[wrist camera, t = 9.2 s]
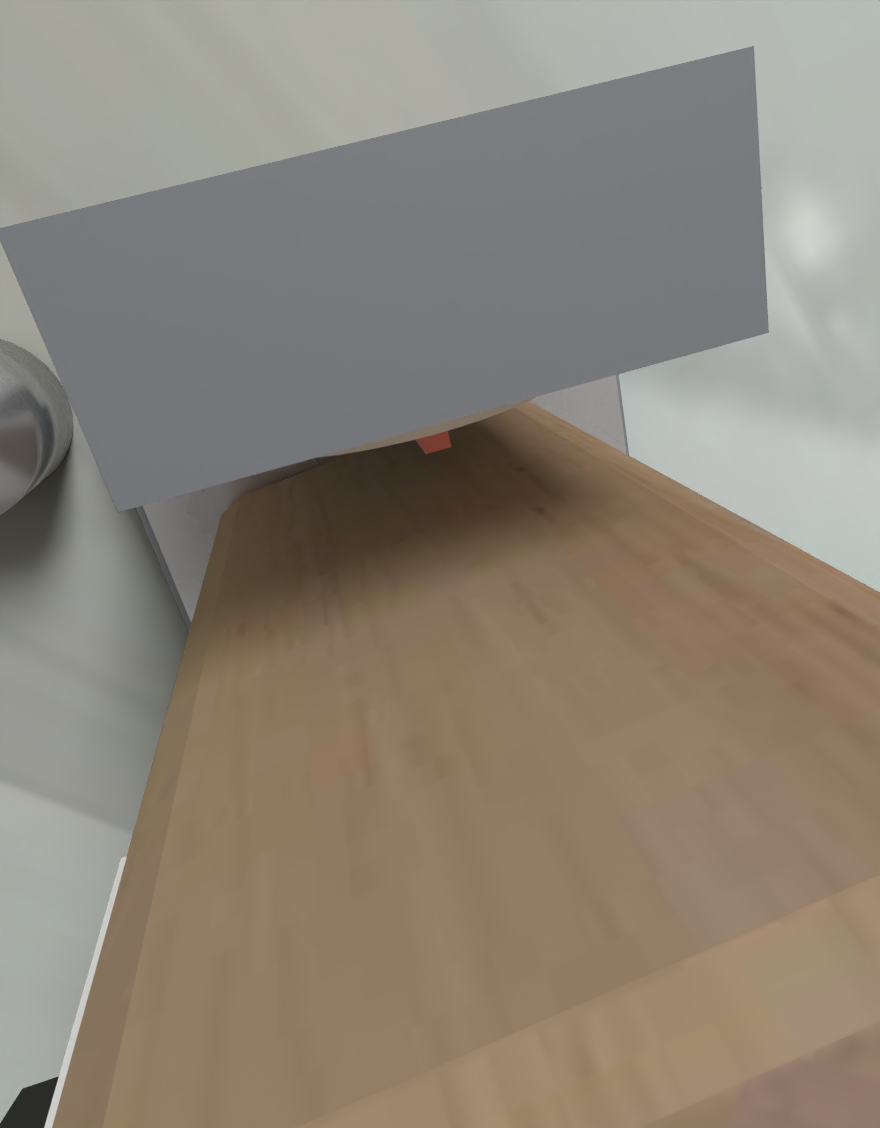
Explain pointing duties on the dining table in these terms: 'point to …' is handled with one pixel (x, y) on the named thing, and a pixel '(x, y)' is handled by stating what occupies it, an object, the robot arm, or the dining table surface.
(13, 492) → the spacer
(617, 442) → the pan
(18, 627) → the dining table surface
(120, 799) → the dining table surface
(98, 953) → the robot arm
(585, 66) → the dining table surface
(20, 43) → the dining table surface
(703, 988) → the wooden block
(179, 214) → the base
